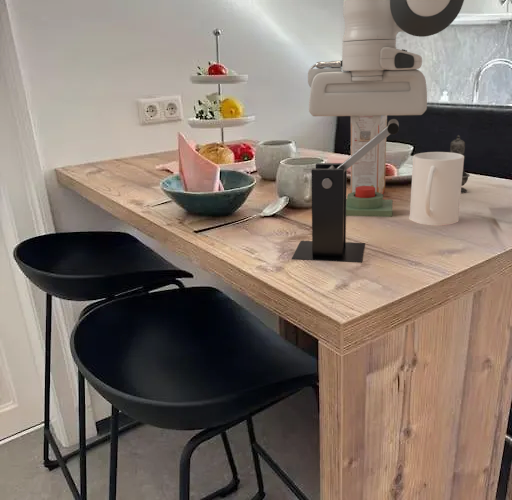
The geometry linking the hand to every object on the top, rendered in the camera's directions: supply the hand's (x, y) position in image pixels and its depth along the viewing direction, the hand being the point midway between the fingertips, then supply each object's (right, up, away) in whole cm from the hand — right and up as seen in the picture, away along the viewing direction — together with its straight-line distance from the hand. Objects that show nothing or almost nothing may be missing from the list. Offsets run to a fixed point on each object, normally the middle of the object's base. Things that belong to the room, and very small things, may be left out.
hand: (365, 141), depth 90 cm
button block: (+1, -13, +5) cm, 14 cm away
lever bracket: (-9, -21, -15) cm, 27 cm away
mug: (+11, -16, -4) cm, 19 cm away
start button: (+1, -10, +3) cm, 10 cm away
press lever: (-5, -7, -21) cm, 23 cm away
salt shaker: (+24, -7, +19) cm, 31 cm away
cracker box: (+4, -9, +16) cm, 19 cm away
